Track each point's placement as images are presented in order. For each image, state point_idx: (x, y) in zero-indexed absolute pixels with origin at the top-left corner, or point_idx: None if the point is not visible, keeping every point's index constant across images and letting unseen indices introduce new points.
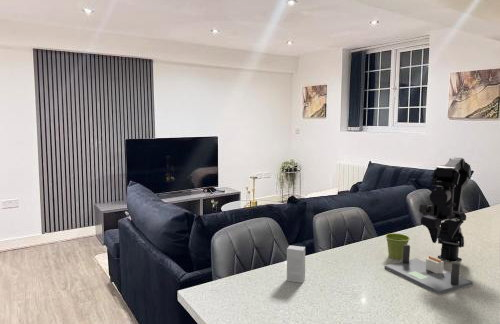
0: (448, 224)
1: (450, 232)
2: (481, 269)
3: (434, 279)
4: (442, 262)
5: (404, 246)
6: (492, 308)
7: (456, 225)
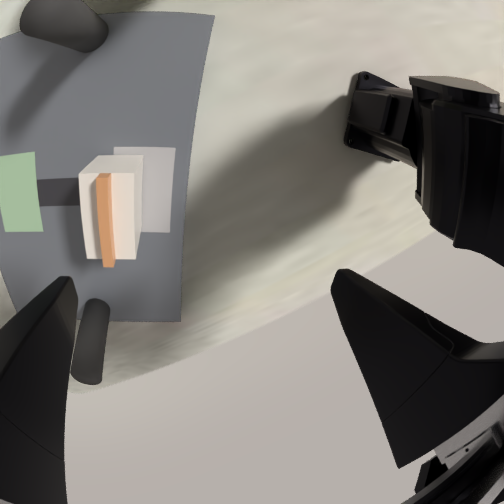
0: (447, 364)
1: (368, 327)
2: (350, 248)
3: (51, 255)
4: (126, 258)
5: (22, 18)
6: (105, 383)
7: (395, 431)
